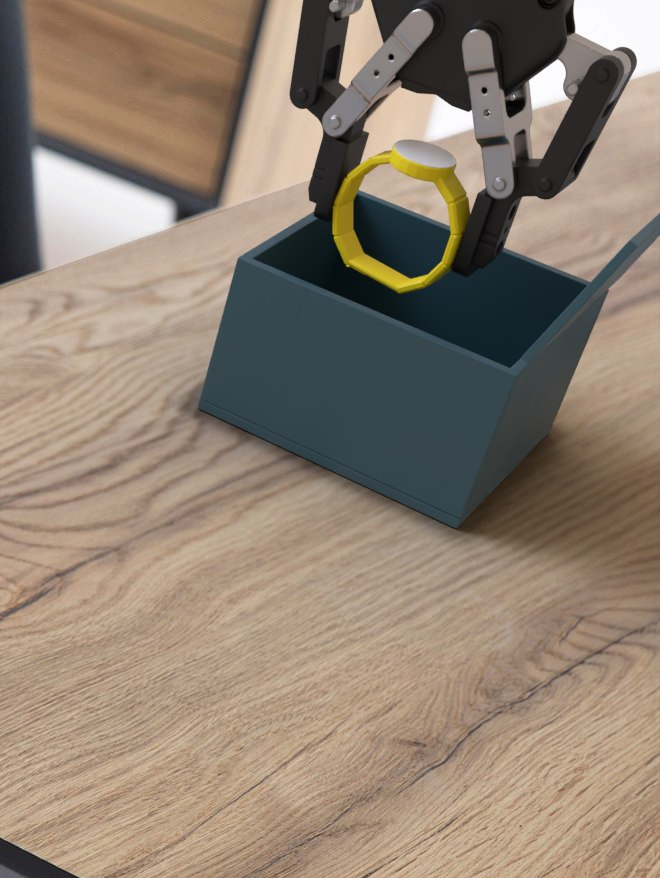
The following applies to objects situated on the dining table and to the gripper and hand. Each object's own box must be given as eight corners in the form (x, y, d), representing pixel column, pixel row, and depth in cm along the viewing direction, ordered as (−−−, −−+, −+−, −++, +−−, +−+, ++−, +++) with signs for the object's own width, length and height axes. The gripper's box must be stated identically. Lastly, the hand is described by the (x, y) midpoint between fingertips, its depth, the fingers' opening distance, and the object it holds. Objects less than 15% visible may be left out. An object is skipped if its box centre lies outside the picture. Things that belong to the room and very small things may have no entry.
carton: (549, 432, 83) (609, 289, 78) (456, 529, 74) (517, 376, 70) (309, 327, 87) (352, 187, 83) (196, 408, 79) (237, 257, 74)
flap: (612, 273, 78) (618, 279, 78) (520, 358, 69) (527, 364, 69) (714, 163, 73) (722, 169, 73) (629, 239, 65) (637, 247, 65)
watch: (308, 261, 78) (345, 132, 74) (339, 246, 79) (376, 119, 76) (425, 314, 75) (470, 183, 71) (454, 297, 77) (499, 169, 73)
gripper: (736, -125, 66) (576, 277, 76) (395, -224, 71) (289, 165, 82) (680, -97, 61) (517, 330, 71) (317, -206, 66) (215, 207, 77)
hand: (396, 240), depth 76 cm, fingers closed on watch, 6 cm apart
